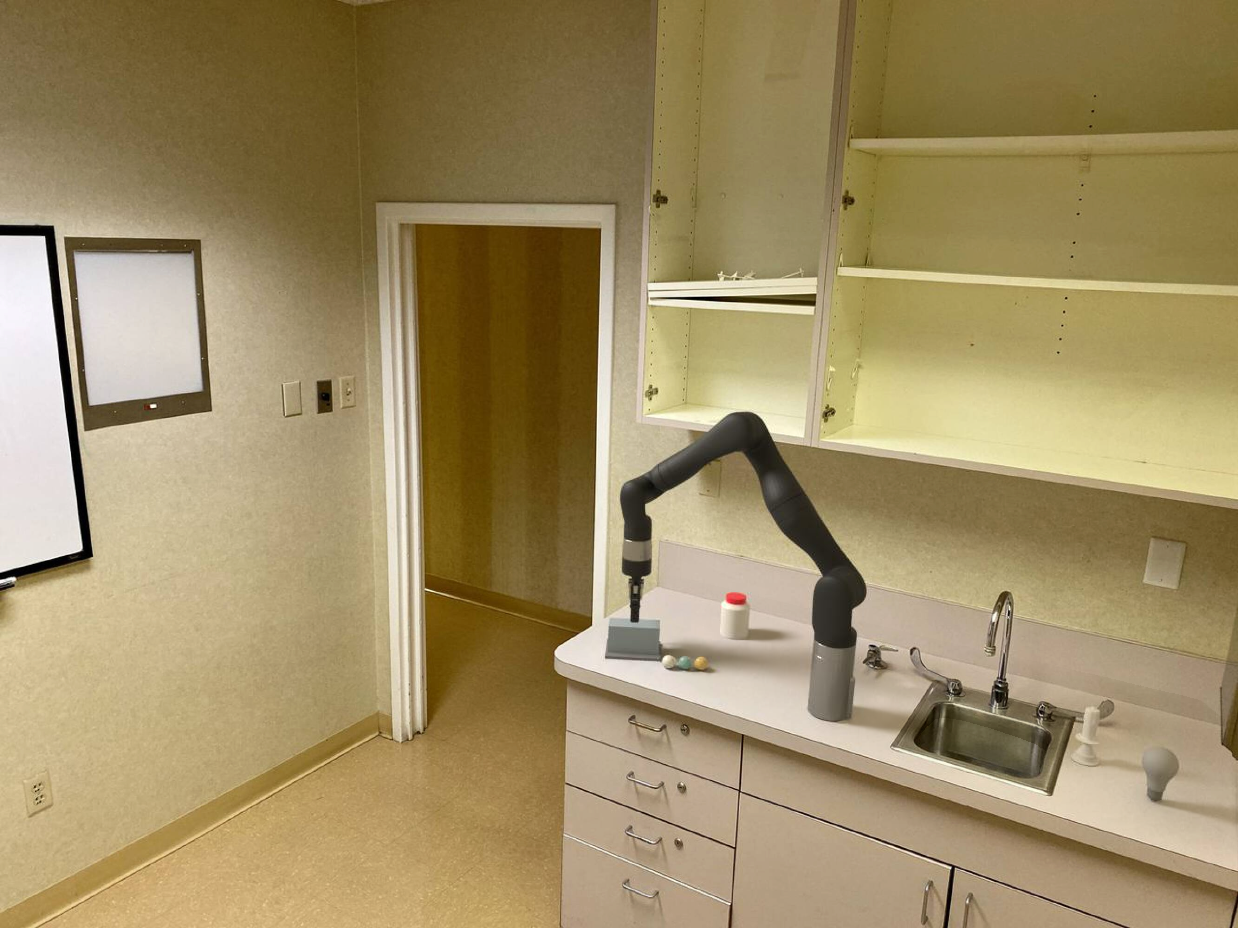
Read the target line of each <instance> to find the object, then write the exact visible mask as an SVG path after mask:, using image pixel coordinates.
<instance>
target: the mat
mask: <svg viewBox="0 0 1238 928" xmlns="http://www.w3.org/2000/svg"><path fill="white" fill-rule="evenodd" d="M604 659H611V660H612V659H615V660H631V661H645V662H646V661H649V662H651V661H652V662H661V641H660V640H659V654H639V653H620V652H608V638H607V639H606V646H605V652H604Z"/></svg>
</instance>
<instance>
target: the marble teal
mask: <svg viewBox="0 0 1238 928" xmlns="http://www.w3.org/2000/svg"><path fill="white" fill-rule="evenodd" d="M691 666H692V659H691V658H690V657H689V656H687V655H683V656H681V657H680V658H679V659H678V667H680V668H681V669H682V670H688V669H690V667H691Z"/></svg>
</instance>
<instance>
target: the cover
mask: <svg viewBox="0 0 1238 928" xmlns="http://www.w3.org/2000/svg"><path fill="white" fill-rule="evenodd" d="M660 628H661V620H658V619H640V618H639V622H638V623H632V622H631V621H630V618H623V617H609V621H608V628H607V629H608V633H607V639H608V652H620V653H639V654H659V641H660V636H661V635H660V633H661V629H660Z"/></svg>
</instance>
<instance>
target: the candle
mask: <svg viewBox="0 0 1238 928" xmlns="http://www.w3.org/2000/svg"><path fill="white" fill-rule="evenodd" d="M1100 714H1101V711H1100V709H1098V708H1097V707H1095V706H1094V705H1093V706H1087V707H1086V708H1085V711H1084V715H1083V726H1082V731H1081V732H1079V733H1078V732H1077V733H1076V734H1075V739H1077V740H1078V741H1079V742H1081V745H1080V746H1079V747H1078V748H1076V749H1075V751H1074V752H1073V751H1072V753H1071V754H1070V757H1071V759H1072V760H1073V761H1074V762H1076V763H1078V764H1079V765H1082V766H1086V767H1096V766H1099V764H1100V760H1099V759H1098V758H1097V753H1095V752H1094V747H1093V746H1097V745H1100V744H1101V743H1102V741H1101V739H1100V738H1099V737H1098V736H1097V731H1098V726H1099V724H1100V716H1101V715H1100Z"/></svg>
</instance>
